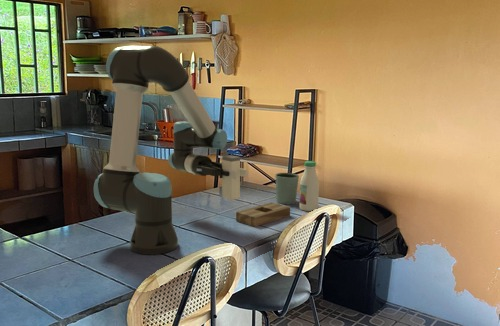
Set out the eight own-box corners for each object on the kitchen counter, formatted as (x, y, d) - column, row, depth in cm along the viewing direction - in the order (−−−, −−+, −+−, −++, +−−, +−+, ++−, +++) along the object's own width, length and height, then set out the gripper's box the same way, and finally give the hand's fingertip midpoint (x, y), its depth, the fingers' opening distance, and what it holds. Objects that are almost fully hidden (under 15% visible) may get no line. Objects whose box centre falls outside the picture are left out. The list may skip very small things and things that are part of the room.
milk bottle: (317, 206, 207) (319, 160, 203) (318, 212, 199) (320, 163, 195) (299, 206, 207) (300, 159, 204) (299, 211, 200) (300, 163, 196)
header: (236, 220, 186) (236, 212, 186) (271, 210, 200) (271, 202, 200) (254, 226, 179) (255, 217, 179) (290, 215, 193) (290, 207, 193)
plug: (222, 197, 176) (222, 156, 173) (230, 195, 179) (230, 155, 176) (231, 200, 172) (231, 158, 170) (239, 198, 175) (240, 157, 172)
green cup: (271, 199, 218) (272, 173, 215) (292, 198, 221) (293, 172, 218) (279, 205, 208) (280, 177, 206) (301, 203, 211) (302, 176, 209)
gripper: (215, 171, 193) (258, 181, 177) (181, 177, 181) (223, 188, 165) (215, 152, 192) (258, 160, 175) (180, 157, 180) (223, 166, 163)
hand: (241, 174), depth 170 cm, fingers closed on plug, 4 cm apart
